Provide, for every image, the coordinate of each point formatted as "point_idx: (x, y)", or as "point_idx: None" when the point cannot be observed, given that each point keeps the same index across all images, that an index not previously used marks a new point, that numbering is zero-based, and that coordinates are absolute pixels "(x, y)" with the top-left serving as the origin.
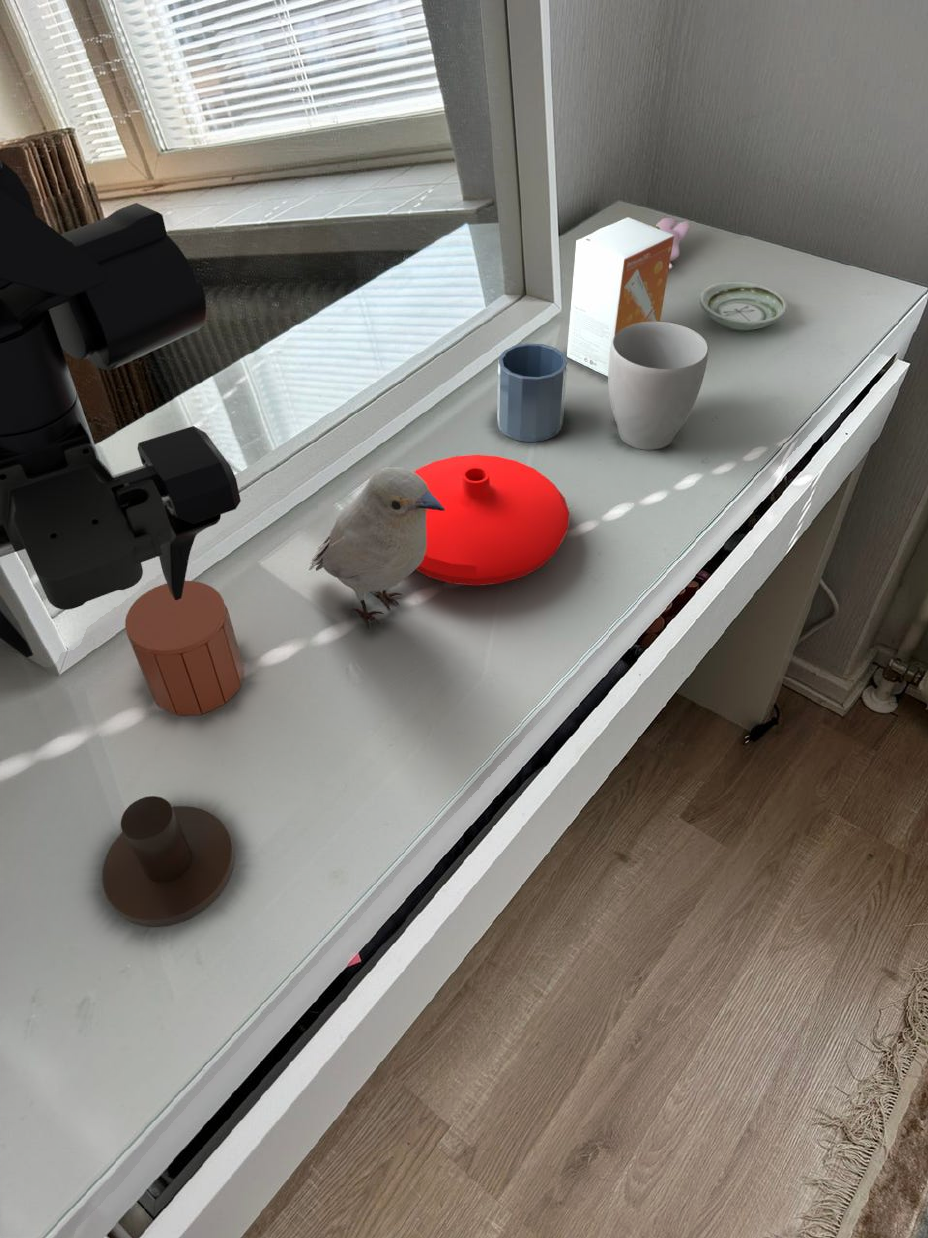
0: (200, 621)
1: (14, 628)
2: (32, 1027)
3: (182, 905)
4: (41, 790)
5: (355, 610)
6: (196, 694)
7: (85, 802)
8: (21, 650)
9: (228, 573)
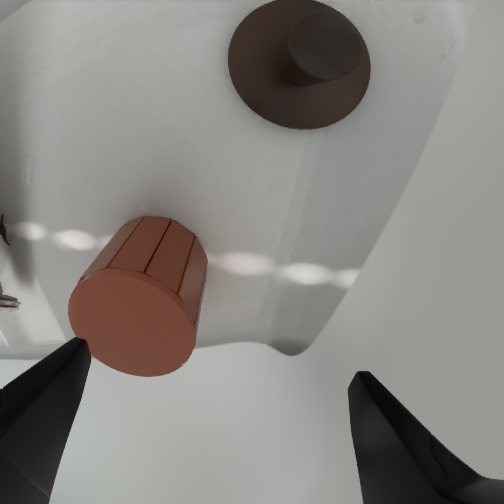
0: (101, 302)
1: (399, 433)
2: (451, 39)
3: (316, 9)
4: (350, 238)
5: (5, 240)
6: (163, 232)
7: (327, 196)
8: (379, 386)
9: None
